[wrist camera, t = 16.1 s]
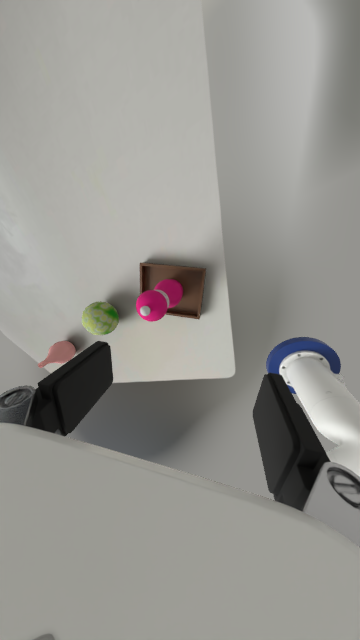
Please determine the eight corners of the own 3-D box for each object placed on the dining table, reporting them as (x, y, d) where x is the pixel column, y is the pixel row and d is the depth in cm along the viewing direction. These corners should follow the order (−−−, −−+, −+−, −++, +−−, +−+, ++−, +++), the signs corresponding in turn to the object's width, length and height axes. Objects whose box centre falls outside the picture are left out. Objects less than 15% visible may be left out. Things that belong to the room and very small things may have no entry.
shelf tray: (206, 268, 44) (205, 269, 42) (200, 315, 49) (199, 319, 46) (144, 262, 47) (139, 262, 44) (144, 308, 52) (140, 310, 49)
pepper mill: (182, 275, 45) (158, 288, 27) (186, 301, 48) (167, 330, 29) (157, 279, 47) (118, 294, 29) (162, 304, 49) (129, 333, 31)
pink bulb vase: (57, 342, 64) (25, 360, 54) (69, 334, 62) (37, 351, 51) (71, 358, 66) (42, 379, 55) (83, 351, 63) (55, 371, 52)
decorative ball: (93, 317, 57) (69, 329, 48) (102, 292, 53) (78, 300, 44) (118, 332, 57) (99, 347, 48) (129, 309, 53) (111, 320, 44)
